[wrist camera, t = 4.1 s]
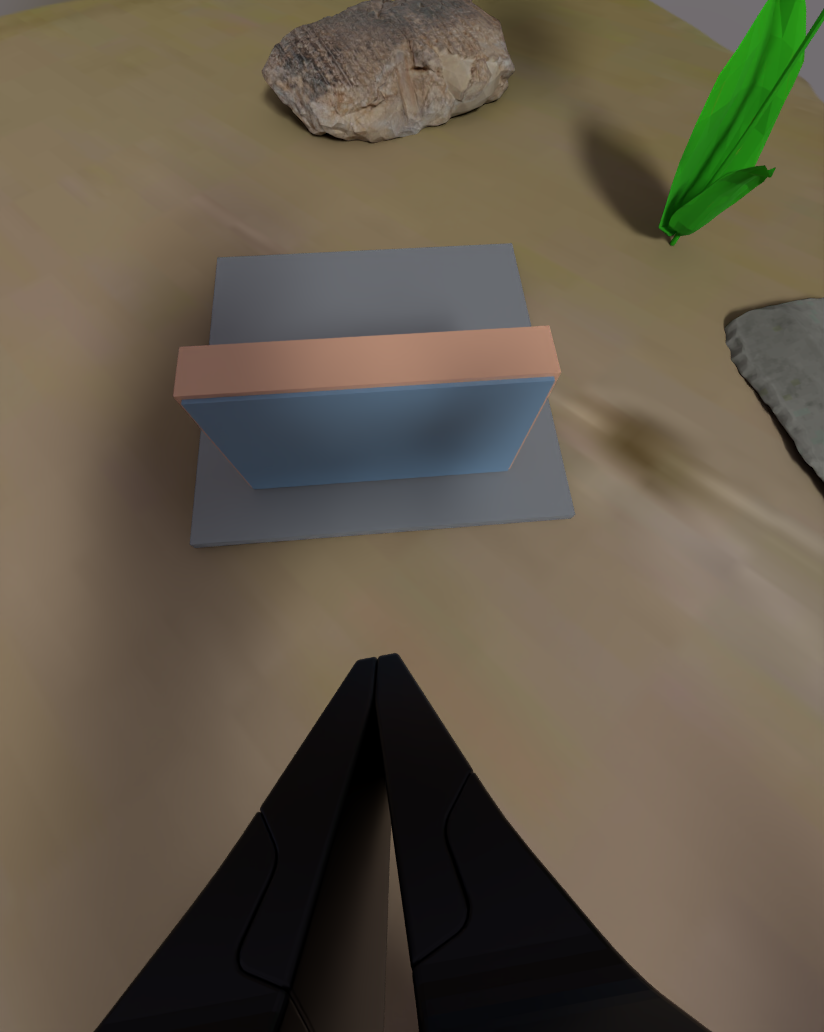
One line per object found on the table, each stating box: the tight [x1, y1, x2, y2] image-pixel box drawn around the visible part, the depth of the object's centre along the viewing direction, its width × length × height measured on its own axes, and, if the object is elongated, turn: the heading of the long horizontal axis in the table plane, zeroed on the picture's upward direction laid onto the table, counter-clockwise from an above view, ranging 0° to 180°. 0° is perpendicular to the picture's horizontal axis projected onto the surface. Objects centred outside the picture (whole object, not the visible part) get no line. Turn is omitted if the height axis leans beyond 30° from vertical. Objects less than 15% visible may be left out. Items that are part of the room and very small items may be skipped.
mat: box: [190, 243, 575, 548], centre depth 25 cm, size 20×20×1 cm
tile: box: [173, 326, 561, 489], centre depth 19 cm, size 2×14×8 cm, turn 95°
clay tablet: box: [262, 0, 515, 142], centre depth 34 cm, size 14×5×20 cm
